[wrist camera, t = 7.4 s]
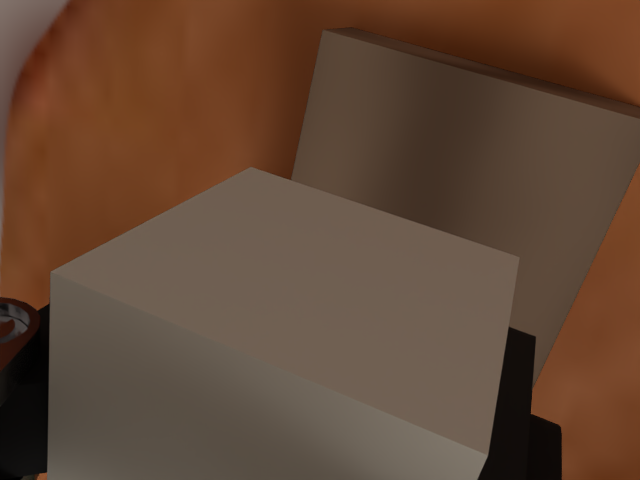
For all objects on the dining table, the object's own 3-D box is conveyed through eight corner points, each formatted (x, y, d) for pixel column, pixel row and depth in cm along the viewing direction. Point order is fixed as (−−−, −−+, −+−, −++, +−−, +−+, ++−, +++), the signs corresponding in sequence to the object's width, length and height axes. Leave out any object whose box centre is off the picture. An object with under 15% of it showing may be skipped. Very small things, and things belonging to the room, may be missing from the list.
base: (644, 106, 17) (658, 124, 15) (530, 356, 21) (524, 405, 18) (355, 27, 19) (322, 29, 17) (299, 266, 23) (265, 298, 21)
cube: (519, 256, 10) (487, 455, 6) (433, 474, 12) (360, 740, 8) (250, 166, 11) (50, 272, 7) (215, 378, 13) (46, 562, 9)
